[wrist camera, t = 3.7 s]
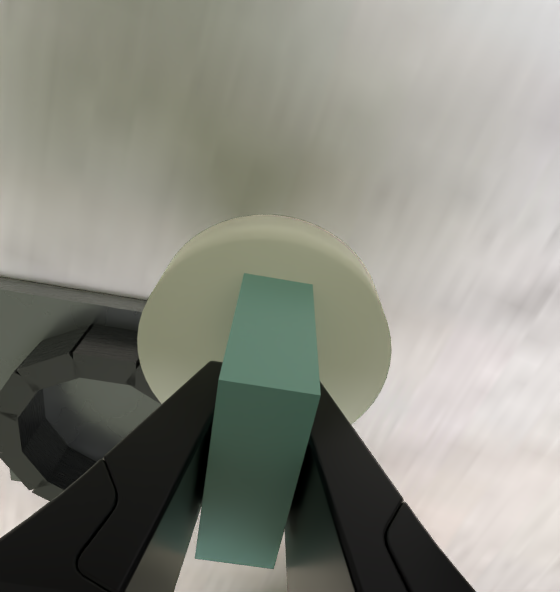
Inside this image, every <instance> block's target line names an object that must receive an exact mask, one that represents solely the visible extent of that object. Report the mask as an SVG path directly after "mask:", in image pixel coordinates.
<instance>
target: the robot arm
mask: <svg viewBox="0 0 560 592" xmlns="http://www.w3.org/2000/svg"><path fill="white" fill-rule="evenodd" d="M222 363H223V362H219V361H209V362H208V363H207V364H206V365H205V366H204V367H203V368H201V369H200V370H199V371H198V372H197V373H196V374H195V375H194V376H192V377H191V378H190V379H189V380H188V381H187V382H186V383H185V384H184V385H182V386H181V387H180V388H179V389H178V390H177V391H176V392H175V393H174V394H172V395H171V396H170V397H169V398H168V399H167V400H166V401H165V402H164V403H162V404H161V405H160V406H159V407H158V408H157V409H156V410H155V411H153V412H152V413H151V414H150V415H149V416H148V417H147V418H146V419H145V420H143V421H142V422H141V423H140V424H139V425H138V426H137V427H136V428H135V429H133V430H132V431H131V432H130V433H129V434H128V435H127V436H126V437H125V438H123V439H122V440H121V441H120V442H119V443H118V444H117V445H116V446H114V447H113V448H112V449H111V450H110V451H109V452H108V453H107V454H106V455H104V457H103V459H100V460H98V461H97V462H96V463H95V464H94V465H93V466H92V467H91V468H90V469H89V470H87V471H86V472H85V473H84V474H83V475H82V476H81V477H79V478H78V479H77V480H76V481H75V482H73V483H72V484H71V485H70V486H69V487H68V488H66V489H65V490H64V491H63V492H62V493H60V494H59V495H58V496H56V497H55V498H54V499H53V500H51V501H50V502H49V503H47V504H46V505H45V506H43V507H42V508H41V509H39V510H38V511H37V512H35V513H34V514H33V515H32V516H30V517H29V518H28V519H26V520H25V521H23V522H22V523H21V524H19V525H18V526H17V527H15V528H14V529H12V530H11V531H10V532H8V533H7V534H6V535H4V536H3V537H1V538H0V592H174V589H175V586H176V583H177V580H178V577H179V573H180V570H181V567H182V564H183V561H184V558H185V555H186V552H187V549H188V545H189V542H190V539H191V536H192V533H193V530H194V527H195V524H196V521H197V517H198V514H199V511H200V508H201V505H202V501H203V494H204V486H205V478H206V471H207V463H208V456H209V448H210V441H211V433H212V425H213V418H214V410H215V403H216V395H217V388H218V380H219V376H220V372H221V367H222ZM320 392H321V396H320V400H319V404H318V407H317V411H316V415H315V418H314V422H313V426H312V429H311V433H310V437H309V440H308V444H307V448H306V452H305V455H304V459H303V463H302V466H301V470H300V474H299V477H298V481H297V485H296V488H295V492H294V496H293V500H292V503H291V507H290V511H289V514H288V518H287V522H286V525H285V545H286V568H287V591H288V592H476V591H475V590H474V589H473V588H472V586H471V585H470V584H469V583H468V582H467V581H466V579H465V578H464V577H463V576H462V575H461V573H460V572H459V571H458V570H457V569H456V567H455V566H454V565H453V564H452V562H451V561H450V560H449V559H448V558H447V556H446V555H445V554H444V553H443V551H442V550H441V549H440V548H439V547H438V545H437V544H436V543H435V541H434V540H433V539H432V537H431V536H430V535H429V533H428V532H427V531H426V529H425V528H424V527H423V525H422V524H421V522H420V521H419V520H418V518H417V517H416V516H415V514H414V513H413V511H412V510H411V509H410V507H409V506H408V504H407V503H406V502H403V501H404V499H403V497H402V496H401V495H400V493H399V492H398V490H397V489H396V488H395V486H394V485H393V483H392V482H391V480H390V479H389V478H388V476H387V475H386V473H385V472H384V471H383V469H382V468H381V466H380V465H379V464H378V462H377V461H376V459H375V458H374V456H373V455H372V454H371V452H370V451H369V449H368V448H367V447H366V445H365V444H364V442H363V441H362V439H361V438H360V437H359V435H358V434H357V432H356V431H355V430H354V428H353V427H352V425H351V424H350V422H349V421H348V420H347V418H346V417H345V415H344V414H343V413H342V411H341V410H340V408H339V407H338V405H337V404H336V403H335V401H334V400H333V398H332V397H331V396H330V394H329V393H328V391H327V390H326V389H325V387H324V386H323V384H322V383H321V381H320Z"/></svg>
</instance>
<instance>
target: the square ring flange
mask: <svg viewBox="0 0 560 592" xmlns="http://www.w3.org/2000/svg"><path fill="white" fill-rule="evenodd" d="M146 302H147V301H145V300H139V299H133V298H126V297H120V296H114V295H108V294H102V293H96V292H89V291H83V290H77V289H71V288H65V287H59V286H52V285H46V284H40V283H34V282H28V281H21V280H15V279H9V278H3V277H0V458H1V459H2V460H3V461H4V463H5V464H6V465H7V466H8V467H9V468H10V474H11V480H14V481H21V482H22V483H23V484H24V485H25V486H26V487H27V488H28V490H32V489H34V490H33V491H32V493H34V494H36V495H38V496H40V497H42V498H44V499H46V500H48V501H51V500H53V499H54V498H55V497H56V496H58V495H59V494H60V493H62V492H63V491H64V490H65V489H66V488H68V487H69V486H70V485H71V484H72V483H73V482H75V481H76V480H77V479H78V478H79V477H81V476H82V475H83V474H84V473H85V472H86V471H87V470H89V469H90V468H91V467H92V466H93V465H94V464H95V463H96V462H97V461H98V460H100V459H103V457H104V455H106V454H107V453H108V452H109V451H110V450H111V449H112V448H113V447H114V446H116V445H117V444H118V443H119V442H120V441H121V440H122V439H123V438H125V437H126V436H127V435H128V434H129V433H130V432H131V431H132V430H133V429H135V428H136V427H137V426H138V425H139V424H140V423H141V422H142V421H143V420H145V419H146V418H147V417H148V416H149V415H150V414H151V413H152V412H153V411H155V410H156V409H157V408H158V407H159V406H160V405H161V403H160V401H159V400H158V399H157V397H156V396H155V394H154V393H153V392H152V390H151V388H150V386H149V384H148V383H147V381H146V379H145V376H144V373H143V371H142V368H141V365H140V360H139V355H138V345H137V336H138V327H139V322H140V318H141V315H142V311H143V309H144V307H145V305H146ZM201 507H202V505H201Z"/></svg>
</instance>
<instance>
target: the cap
mask: <svg viewBox="0 0 560 592" xmlns="http://www.w3.org/2000/svg"><path fill="white" fill-rule="evenodd" d="M137 345H138V355H139V360H140V365H141V368H142V371H143V373H144V376H145V379H146V381H147V383H148V384H149V386H150V388H151V390H152V392H153V393H154V394H155V396H156V397H157V399H158V400H159V401H160V403H161V404H162V403H164V402H165V401H166V400H167V399H168V398H169V397H170V396H171V395H172V394H174V393H175V392H176V391H177V390H178V389H179V388H180V387H181V386H182V385H184V384H185V383H186V382H187V381H188V380H189V379H190V378H191V377H192V376H194V375H195V374H196V373H197V372H198V371H199V370H200V369H201V368H203V367H204V366H205V365H206V364H207V363H208V362H209V361H219V362H223V363H222V367H221V372H220V376H219V380H218V388H217V395H216V403H215V410H214V418H213V425H212V433H211V441H210V448H209V456H208V463H207V471H206V478H205V486H204V494H203V501H202V509H201V516H200V524H199V531H198V539H197V547H196V554H195V559H202V560H209V561H217V562H224V563H232V564H239V565H247V566H254V567H262V568H269V569H274V566H275V562H276V559H277V555H278V551H279V547H280V544H281V540H282V536H283V533H284V529H285V525H286V522H287V518H288V514H289V511H290V507H291V503H292V500H293V496H294V492H295V488H296V485H297V481H298V477H299V474H300V470H301V466H302V463H303V459H304V455H305V452H306V448H307V444H308V440H309V437H310V433H311V429H312V426H313V422H314V418H315V415H316V411H317V407H318V404H319V400H320V396H321V392H320V381H321V383H322V384H323V386H324V387H325V389H326V390H327V391H328V393H329V394H330V396H331V397H332V398H333V400H334V401H335V403H336V404H337V405H338V407H339V408H340V410H341V411H342V413H343V414H344V415H345V417H346V418H347V420H348V421H349V422H350V424H352V423H354V422H355V421H356V420H357V419H358V418H360V417H361V416H362V415H363V414H364V413H365V412H366V411H367V410H368V408H369V407H370V406H371V405H372V404H373V402H374V401H375V399H376V398H377V396H378V394H379V393H380V391H381V389H382V387H383V385H384V383H385V380H386V378H387V374H388V370H389V367H390V360H391V337H390V332H389V328H388V323H387V320H386V317H385V314H384V312H383V309H382V306H381V303H380V300H379V297H378V294H377V291H376V288H375V286H374V283H373V281H372V278H371V276H370V274H369V272H368V270H367V269H366V267H365V265H364V264H363V262H362V261H361V260H360V259H359V257H358V256H357V255H356V253H355V252H354V251H353V250H352V249H351V248H349V247H348V246H347V245H346V244H345V243H344V242H343V241H342V240H340V239H339V238H337V237H336V236H335V235H333V234H332V233H330V232H328V231H326V230H325V229H323V228H321V227H319V226H317V225H314V224H312V223H309V222H306V221H304V220H300V219H296V218H292V217H288V216H279V215H250V216H243V217H237V218H234V219H230V220H227V221H223V222H221V223H218V224H216V225H214V226H212V227H209V228H208V229H206V230H204V231H203V232H201V233H199V234H198V235H196V236H195V237H194V238H192V239H191V240H190V241H189V242H187V243H186V244H185V245H184V246H183V247H182V248H181V249H180V251H179V252H178V253H177V254H176V255H175V256H174V258H173V259H172V261H171V262H170V264H169V265H168V267H167V269H166V270H165V272H164V274H163V275H162V277H161V278H160V280H159V282H158V283H157V285H156V287H155V288H154V290H153V292H152V293H151V295H150V296H149V298H148V300H147V302H146V305H145V307H144V309H143V311H142V315H141V318H140V322H139V327H138V336H137Z"/></svg>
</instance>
